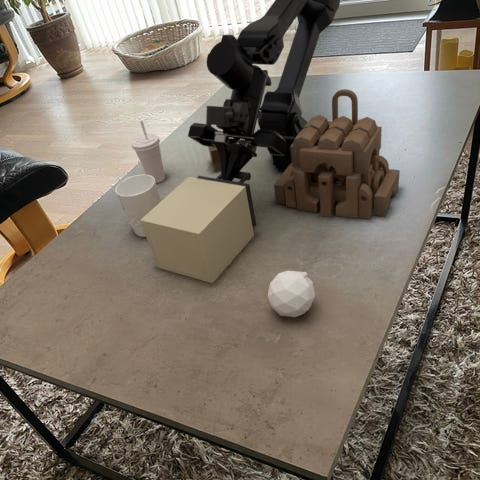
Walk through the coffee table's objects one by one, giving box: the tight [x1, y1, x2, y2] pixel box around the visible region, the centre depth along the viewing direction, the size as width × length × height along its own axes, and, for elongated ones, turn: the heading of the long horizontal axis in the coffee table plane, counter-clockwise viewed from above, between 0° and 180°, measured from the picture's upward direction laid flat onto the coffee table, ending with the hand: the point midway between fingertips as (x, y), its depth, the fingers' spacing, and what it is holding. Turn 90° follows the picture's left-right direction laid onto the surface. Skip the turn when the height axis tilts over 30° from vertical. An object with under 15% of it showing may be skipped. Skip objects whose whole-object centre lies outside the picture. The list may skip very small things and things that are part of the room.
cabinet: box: [140, 176, 255, 284], centre depth 88 cm, size 15×13×11 cm
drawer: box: [196, 170, 257, 229], centre depth 91 cm, size 18×11×9 cm, turn 148°
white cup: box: [114, 173, 162, 238], centre depth 97 cm, size 8×8×10 cm
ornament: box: [267, 270, 316, 318], centre depth 74 cm, size 7×7×8 cm
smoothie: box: [131, 120, 166, 184], centre depth 110 cm, size 6×6×14 cm
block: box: [207, 147, 221, 172], centre depth 113 cm, size 5×5×5 cm
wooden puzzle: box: [273, 88, 401, 220], centre depth 91 cm, size 22×15×19 cm, turn 63°
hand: (225, 185), depth 91 cm, fingers closed
